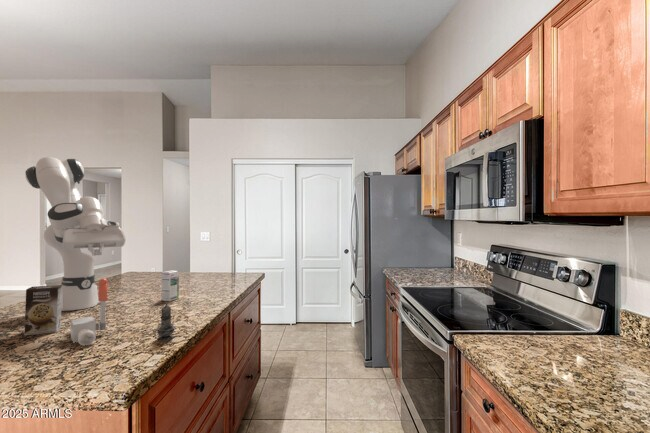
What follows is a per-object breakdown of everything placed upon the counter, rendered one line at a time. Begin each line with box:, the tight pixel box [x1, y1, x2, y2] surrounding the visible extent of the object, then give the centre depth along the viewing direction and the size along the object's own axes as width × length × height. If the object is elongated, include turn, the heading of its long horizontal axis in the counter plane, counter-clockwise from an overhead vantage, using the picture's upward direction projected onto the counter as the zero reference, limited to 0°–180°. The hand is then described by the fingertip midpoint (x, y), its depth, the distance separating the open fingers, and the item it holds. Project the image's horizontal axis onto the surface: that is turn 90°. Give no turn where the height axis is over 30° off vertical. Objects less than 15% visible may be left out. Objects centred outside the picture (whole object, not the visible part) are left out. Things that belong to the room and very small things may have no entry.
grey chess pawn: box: [156, 303, 176, 342], centre depth 111 cm, size 6×6×12 cm
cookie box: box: [23, 284, 62, 336], centre depth 117 cm, size 9×6×16 cm
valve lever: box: [98, 278, 108, 332], centre depth 114 cm, size 3×3×18 cm
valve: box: [70, 316, 100, 347], centre depth 111 cm, size 18×7×6 cm, turn 44°
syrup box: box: [161, 269, 180, 302], centre depth 164 cm, size 6×6×14 cm
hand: (97, 254), depth 123 cm, fingers closed
